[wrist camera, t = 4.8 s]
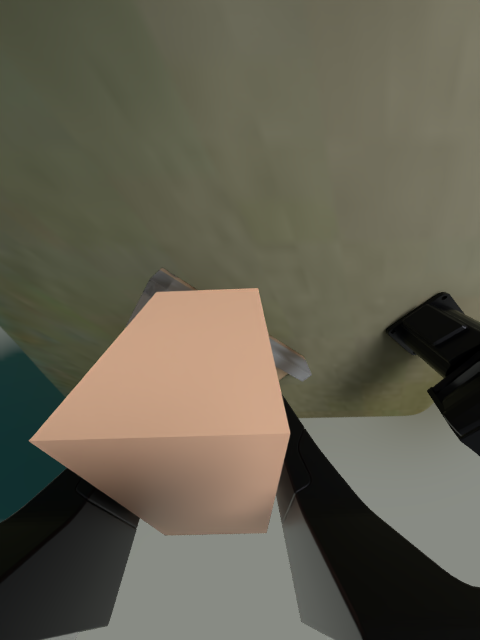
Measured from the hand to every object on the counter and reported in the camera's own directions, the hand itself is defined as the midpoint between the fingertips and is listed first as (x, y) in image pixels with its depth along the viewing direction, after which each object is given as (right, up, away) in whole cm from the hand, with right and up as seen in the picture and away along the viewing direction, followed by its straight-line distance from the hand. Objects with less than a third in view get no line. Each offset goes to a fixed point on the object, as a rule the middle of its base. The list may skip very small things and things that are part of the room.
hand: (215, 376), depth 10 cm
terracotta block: (0, +1, +1) cm, 1 cm away
